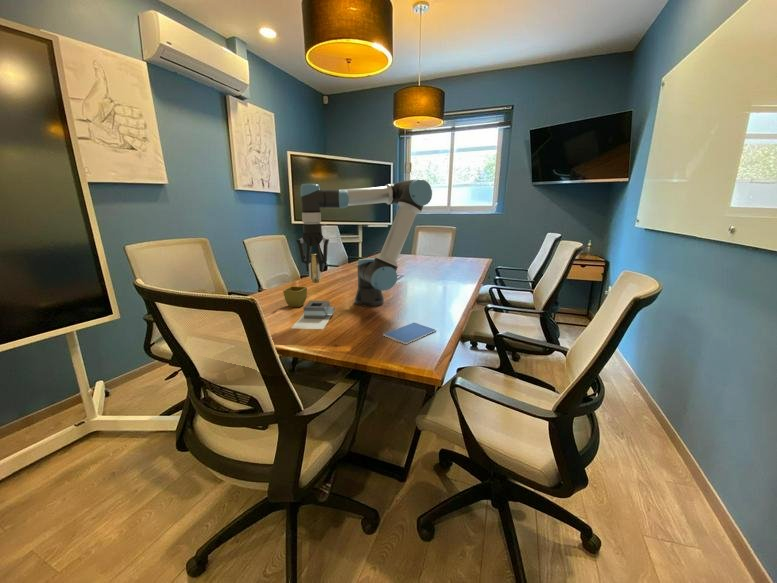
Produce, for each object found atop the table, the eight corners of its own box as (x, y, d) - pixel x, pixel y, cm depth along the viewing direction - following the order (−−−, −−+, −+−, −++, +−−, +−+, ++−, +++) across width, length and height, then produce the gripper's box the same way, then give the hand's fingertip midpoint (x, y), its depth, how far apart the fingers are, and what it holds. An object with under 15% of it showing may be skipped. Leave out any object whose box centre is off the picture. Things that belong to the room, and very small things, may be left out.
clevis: (336, 311, 149) (335, 301, 148) (331, 319, 139) (331, 308, 137) (310, 310, 149) (310, 300, 148) (304, 318, 139) (303, 307, 138)
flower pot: (283, 307, 159) (282, 290, 156) (293, 302, 167) (291, 285, 164) (300, 309, 157) (298, 291, 154) (308, 304, 165) (307, 287, 162)
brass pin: (319, 281, 140) (318, 253, 137) (318, 282, 138) (316, 254, 134) (313, 281, 141) (311, 253, 137) (311, 282, 138) (309, 254, 134)
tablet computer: (413, 324, 139) (413, 321, 139) (437, 332, 130) (437, 329, 130) (381, 337, 126) (381, 333, 125) (406, 346, 117) (406, 343, 117)
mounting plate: (334, 314, 149) (334, 311, 149) (323, 332, 128) (323, 329, 128) (306, 313, 150) (306, 310, 149) (291, 331, 129) (290, 328, 128)
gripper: (333, 222, 136) (335, 277, 142) (295, 222, 136) (299, 276, 143) (329, 223, 129) (332, 280, 135) (289, 223, 129) (294, 280, 135)
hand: (315, 278), depth 139 cm, fingers closed on brass pin, 3 cm apart
